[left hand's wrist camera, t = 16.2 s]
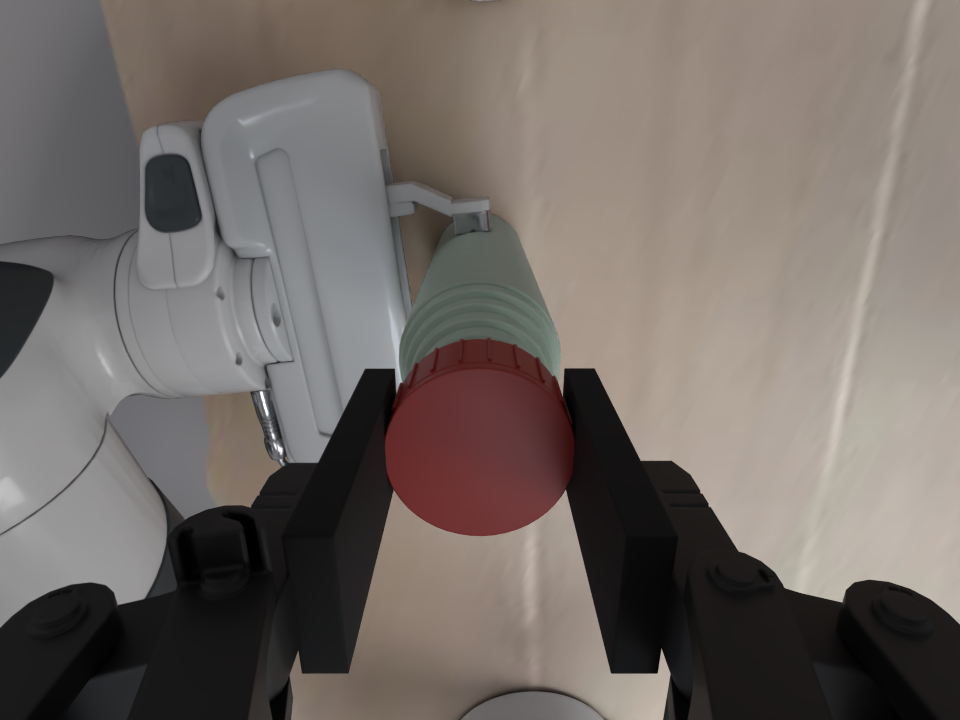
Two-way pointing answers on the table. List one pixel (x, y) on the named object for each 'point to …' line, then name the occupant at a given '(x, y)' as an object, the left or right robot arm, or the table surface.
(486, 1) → the mug
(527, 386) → the cap
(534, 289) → the bottle
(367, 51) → the table surface
